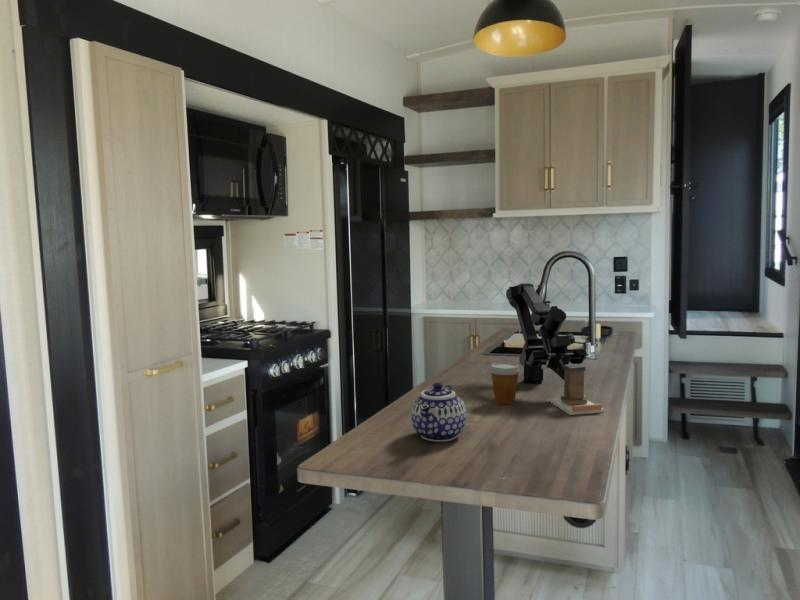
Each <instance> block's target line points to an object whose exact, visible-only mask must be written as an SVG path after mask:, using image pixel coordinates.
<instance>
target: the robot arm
mask: <svg viewBox="0 0 800 600" xmlns="http://www.w3.org/2000/svg"><path fill="white" fill-rule="evenodd" d="M534 287H535V286H534V284H533V283H529V282H527V283H519V284H518V285H514V286H509V287H508V289H507V290H506V291H505V292H506V293H505V297H506V299H507V300H508V304H509V305H510V306H511V307H512V308H513V309H514V310H515V311H516V315H517V318H518V321H519V326H520V330H521V333H522V338H523V341H524V343H523V346H522V349H521V350H522V352H521V353H520V356H519V358H518V361H519V365H521V366H523V380H522V383H526V384H542V382H544V368H543V366H546V368H547V369H550V370H551V371H553V372H554V373H555V374H556V375H557V376H558V377H560V378H561V379H562V381H564V375H565V369H563V365H568V364H579V365H581V364H583V362H584V361H585V359H586V358H587V356H588V353H587V350H586V348H584V347H583V348H572V349H573V350H572V351H571V352H567V351H568V349H569V348H568V347H569V346H571V345H574V344H575V343H576V340H575V339H576V338H575V336H574V334H573V333H567V334H566V335H559V333H558V332H559V331H560V330H561V329H562V327H563V325H564V324H565V321H566V320H567V314H566V312H565V311H564V310H563V309H560V308H558V306H557V305H551V306H550V305H548V304H545V303H544V302H543V301H542V299H541V298H540V296H539V294H538V293H537V291H536V290H535V288H534ZM535 326H537V327H538V326H540V328H539V331H538V335H537V331H536V327H535ZM539 337H540V338H539Z"/></svg>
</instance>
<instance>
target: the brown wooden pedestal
mask: <svg viewBox="0 0 800 600" xmlns="http://www.w3.org/2000/svg"><path fill="white" fill-rule="evenodd" d="M563 369H565V375H564V380H563V382H564V384H563V386H564V387H563V389H564V392H563V395H561V396H560V398H561V400H562V401H564V402H565V403H567V404H569V405H573V404H587V400H588V399H586V398H585V397H584V395H585V394H584V393H585V392H584V387H585V385H584V382H585V372H586V366H584V365H581V364H572V363H569V364H568V365H563Z"/></svg>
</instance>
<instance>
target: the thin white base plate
mask: <svg viewBox="0 0 800 600" xmlns="http://www.w3.org/2000/svg"><path fill="white" fill-rule="evenodd" d="M550 402H551V403H550ZM549 403H550V404H552V403H553V404H552V405H553V406H556V407H557V408H558V407H559V409H560V410H561V411H563V412H565V413H566V414H567V415H569V416H573V415H584V414H585V415H586V414H600V413H605V408H603V407H602V406H603V405H602V404H601V403H593V402H592V401H590V400H588V399H587V404H573V405H569V404H567V403H565V402H564V401H562V400H561V397H555V398H549Z"/></svg>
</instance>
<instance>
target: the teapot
mask: <svg viewBox="0 0 800 600" xmlns="http://www.w3.org/2000/svg"><path fill="white" fill-rule="evenodd" d="M443 386H444V385H443V384H442V383H441V382H434V383H433V384H432V387H433V388H429V389H424V390H422V391H421V393H420V395H419V396H417V398H416V399H414V401H413V403H412V407H411V413H410V417H411V420H410V421H411V423H412V425H411V426H412V427H413V429H414V431H415V432H416V434H418V435H420V436H421V439H423V440H426V441H431V442H450V441H453V440H455V439H457V437H458V435H460V434H461V432H463V430H464V429H465V426H466V423H467V410H466V406H465V405H466V404H465V402H464V400H462V398H460V396H458V395H457V394H456V392H455V391H454V387H453V385H450V384H446V385H445V386H444V388H443Z"/></svg>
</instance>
